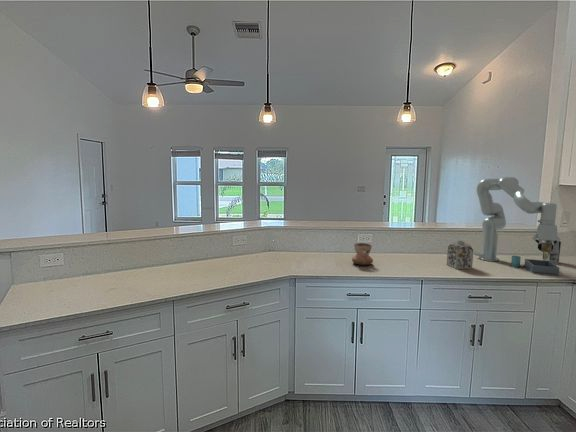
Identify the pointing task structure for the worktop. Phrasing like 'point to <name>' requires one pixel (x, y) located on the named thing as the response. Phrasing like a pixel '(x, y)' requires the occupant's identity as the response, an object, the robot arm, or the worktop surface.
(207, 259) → the worktop surface
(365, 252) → the ceramic jug
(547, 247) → the walnut cube
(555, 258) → the coffee box
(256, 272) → the worktop surface
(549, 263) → the tote
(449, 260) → the decorative jar
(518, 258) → the teal cylinder
